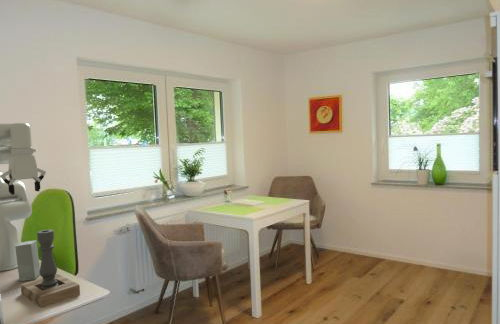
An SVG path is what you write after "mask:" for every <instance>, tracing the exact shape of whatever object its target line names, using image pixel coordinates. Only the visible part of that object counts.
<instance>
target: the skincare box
mask: <svg viewBox="0 0 500 324" xmlns="http://www.w3.org/2000/svg"><path fill="white" fill-rule="evenodd" d="M37 241H38V239H37V240H36V239H35V240H27V241H21V242H20V243H19V242H18V245H16V246H15V249H16V257H17V265H18V268H17V271H18V278H19V279H18V280H19V282H24V281H34V280H37V278H38V277H39V276H41V275H40V273H39V272H40V266H41V265H40V261H39V260H40V258H39V252H38V251H39V248H38V243H37Z"/></svg>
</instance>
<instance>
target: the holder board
mask: <svg viewBox="0 0 500 324" xmlns="http://www.w3.org/2000/svg"><path fill="white" fill-rule="evenodd" d="M42 278H43V277H41V278H38V279H35V280H30V281H27V282H25V283H20V293H21V295H22V296H23V297H25V298H26V299H28V300H29V301H30V302H32V303H34V304H35V305H37V306H38V307H40V308H44V307H47V306H50V305H55V304H57V303H60V302H63V301H65V300H68V299H71V298H75V297H78V296H80V295H81V290H80V284H79V283H77V282H75V281H73V280H71V279H70V278H67V277H65V276H62V275H60V273H56V275H55V279H56V280H57V284H58V286H56V287H53V288H49V289H46V290H43V291H42V290H41V287H42V285H41V283H42V281H43V279H42Z"/></svg>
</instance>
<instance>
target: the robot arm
mask: <svg viewBox="0 0 500 324" xmlns="http://www.w3.org/2000/svg"><path fill="white" fill-rule="evenodd" d="M32 143H33V142H32V132H31V125H30V124H29V123H27V122H15V123H0V165H7V164H8V170H7V171H5V172H2V171H1V170H0V272H5V271H10V270H14V269H18V265H17V257H16V249H15V246H16V245H18V244H19V239H18V238H19V237H18V230H17V228H16V226H15V225H13V224H12V223H11V222H13V221H18V220H22V219H23V220H24V219H28V218H30V217H31V216H32V214H33V207H32V204H31V199H30V197H29V194H28V190H27V188H26V185H25V184H24V182H23V181H20V180H29V179H33V180H34V191H35V192H40V189H41V182H42V180H44V178H45V176H46V172H47V171H45V170H43V169H41V168H38V165H37V161H36V156H35V155H34V153H36V149H35V148H33V146H32V145H33V144H32ZM39 173H40V174H39ZM38 175H39V176H38ZM7 176H8V178H7Z"/></svg>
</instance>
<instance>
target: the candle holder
mask: <svg viewBox="0 0 500 324" xmlns="http://www.w3.org/2000/svg"><path fill="white" fill-rule="evenodd" d="M54 232H55V231H54V229H43V230H39V231H37V232H36V235H37V237H36V239H37V241H38V243H39V247H38V251H39V250H40V252H41V253H40V255H41V261H40V265H39V266H40V272H39V273H40V275H39V276H40V277H41V278H42V279H43V281H42V283H41V285H42V287H41V290H42V291H43V290H46V289H49V288H53V287H56V286H58V284H57V280H56V279H55V275H56V274H58V273H57V272H58V267H57V265H56V262H55V258H54V253H53V249H54V248H55V245H54V244H53V242H54V239H55V233H54Z"/></svg>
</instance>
